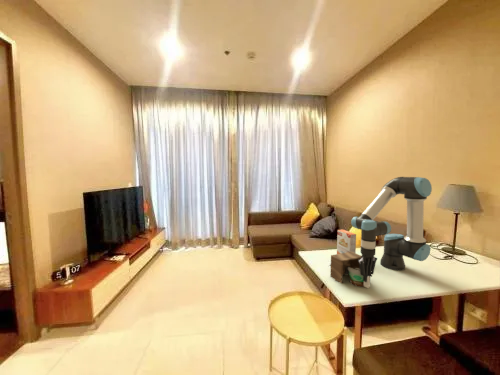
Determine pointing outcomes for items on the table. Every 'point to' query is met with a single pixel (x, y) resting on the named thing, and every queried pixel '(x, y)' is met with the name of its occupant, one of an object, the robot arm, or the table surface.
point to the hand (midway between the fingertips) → (366, 286)
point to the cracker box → (346, 241)
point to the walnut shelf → (343, 264)
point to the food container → (355, 277)
